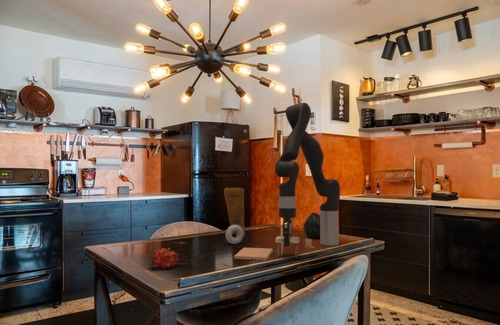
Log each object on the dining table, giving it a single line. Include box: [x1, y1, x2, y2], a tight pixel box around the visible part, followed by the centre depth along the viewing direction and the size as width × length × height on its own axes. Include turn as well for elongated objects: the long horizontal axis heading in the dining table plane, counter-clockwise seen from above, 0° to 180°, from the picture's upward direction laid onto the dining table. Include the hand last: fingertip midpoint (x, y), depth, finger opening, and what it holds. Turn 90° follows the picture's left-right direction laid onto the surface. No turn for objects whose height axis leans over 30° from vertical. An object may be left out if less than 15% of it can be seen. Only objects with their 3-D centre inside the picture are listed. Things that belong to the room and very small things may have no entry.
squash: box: [302, 212, 320, 240], centre depth 210 cm, size 14×15×15 cm
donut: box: [225, 225, 244, 245], centre depth 192 cm, size 10×4×10 cm, turn 119°
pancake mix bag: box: [223, 187, 246, 237], centre depth 223 cm, size 7×19×28 cm, turn 34°
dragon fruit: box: [149, 247, 181, 270], centre depth 145 cm, size 8×8×12 cm
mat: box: [233, 247, 274, 261], centre depth 166 cm, size 14×18×1 cm
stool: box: [275, 235, 301, 259], centre depth 163 cm, size 10×6×8 cm, turn 78°
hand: (287, 244), depth 163 cm, fingers closed on stool, 6 cm apart
